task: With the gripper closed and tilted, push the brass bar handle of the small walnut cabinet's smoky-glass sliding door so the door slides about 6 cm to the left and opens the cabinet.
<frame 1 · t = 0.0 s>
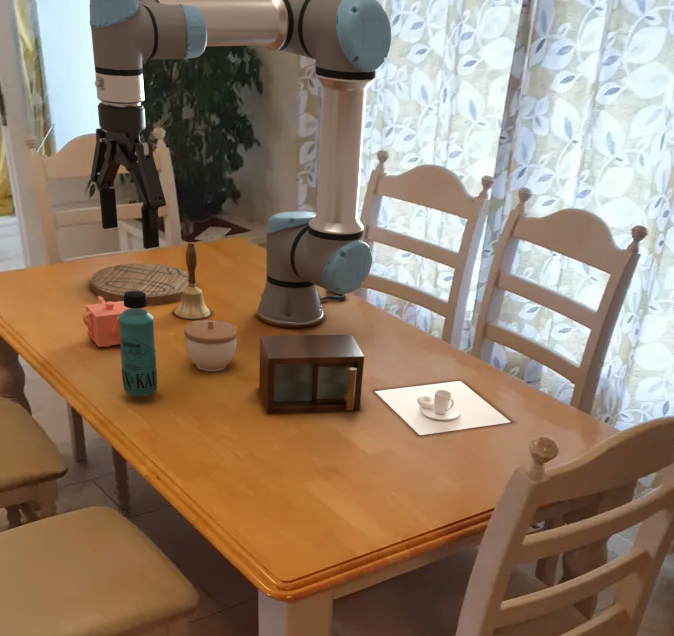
hand: (130, 237, 161), 28 cm above the table, tool pointing down, fingers open, 13 cm apart
teacup and saucer: (441, 407, 179), on the table
trivet: (143, 288, 223), on the table
beverage bottle: (141, 398, 173), on the table
door: (335, 386, 169), point 6 cm above the table, slide at 0.0 cm
trinket box: (211, 366, 188), on the table
cabinet: (308, 400, 177), on the table
hand bell: (192, 314, 211), on the table
teapot: (113, 342, 194), on the table
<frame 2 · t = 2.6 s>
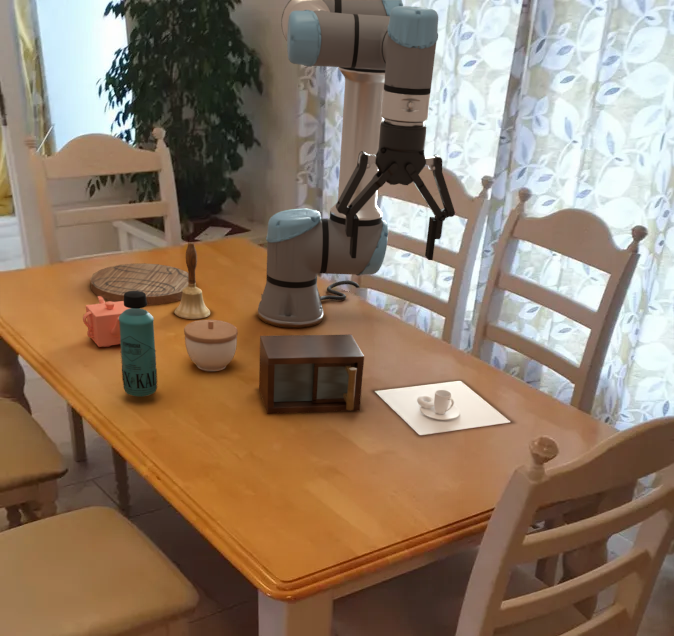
hand: (390, 257, 158), 29 cm above the table, tool pointing down, fingers open, 13 cm apart
nothing on the table moved.
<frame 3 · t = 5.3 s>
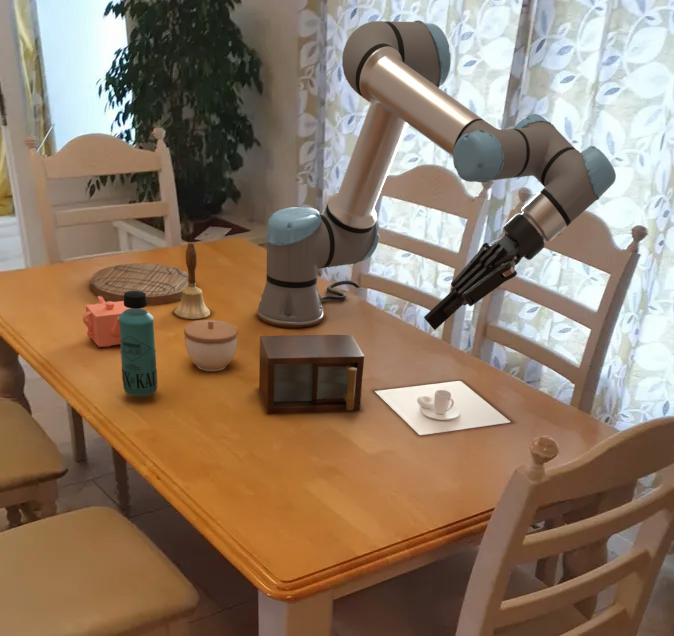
hand: (429, 323, 164), 18 cm above the table, tool tilted 45°, fingers closed
nothing on the table moved.
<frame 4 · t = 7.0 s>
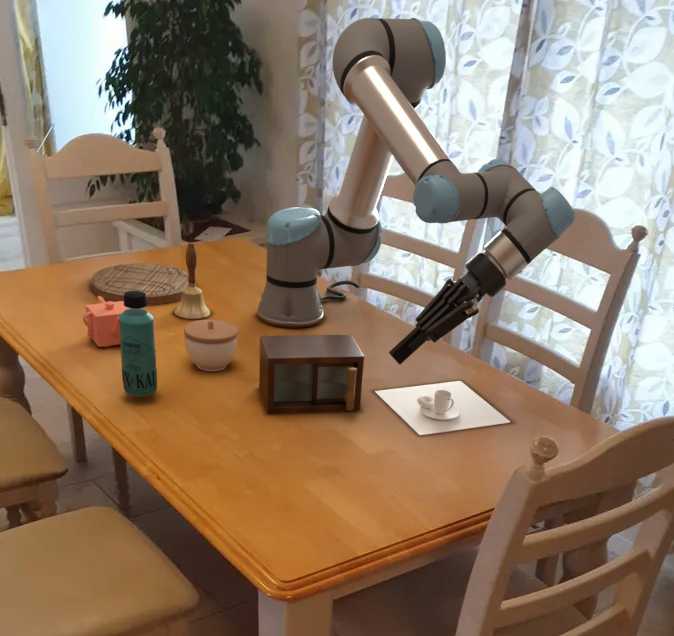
hand: (394, 358, 166), 12 cm above the table, tool tilted 45°, fingers closed
nothing on the table moved.
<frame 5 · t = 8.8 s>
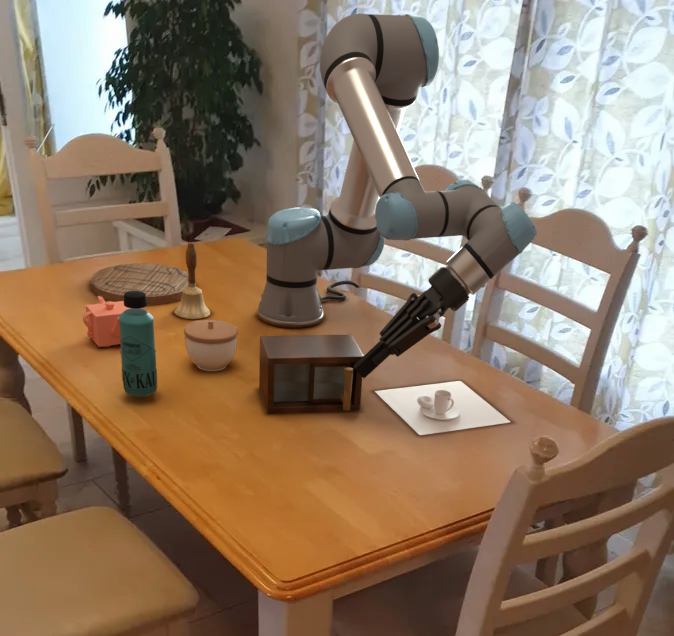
hand: (358, 372, 166), 9 cm above the table, tool tilted 45°, fingers closed
door: (332, 386, 169), point 6 cm above the table, slide at 0.7 cm, touching gripper
everything else where it was.
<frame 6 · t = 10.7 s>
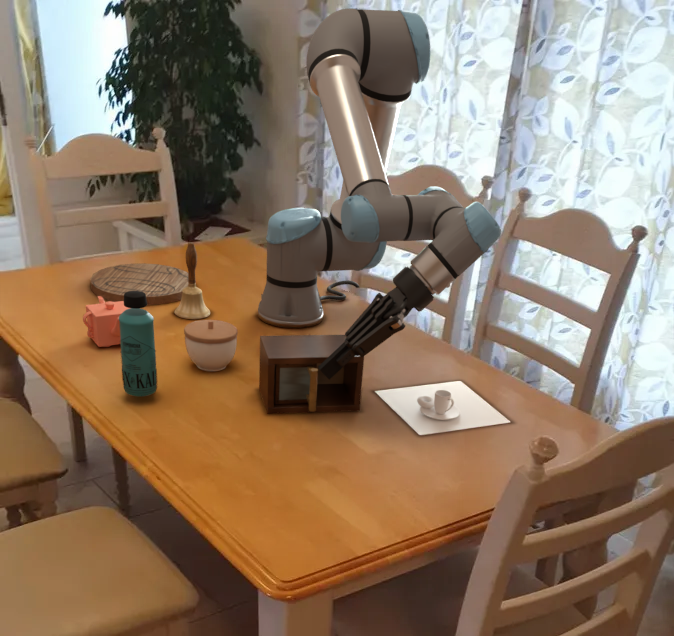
hand: (323, 373, 165), 9 cm above the table, tool tilted 45°, fingers closed
door: (297, 387, 168), point 6 cm above the table, slide at 7.2 cm, touching gripper
everything else where it was.
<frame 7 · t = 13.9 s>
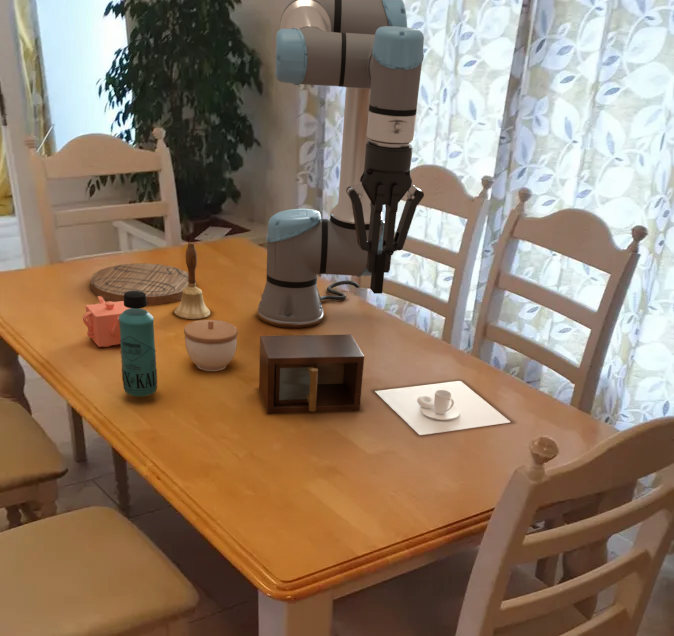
hand: (376, 290, 158), 24 cm above the table, tool pointing down, fingers closed
door: (297, 387, 168), point 6 cm above the table, slide at 7.2 cm
everything else where it was.
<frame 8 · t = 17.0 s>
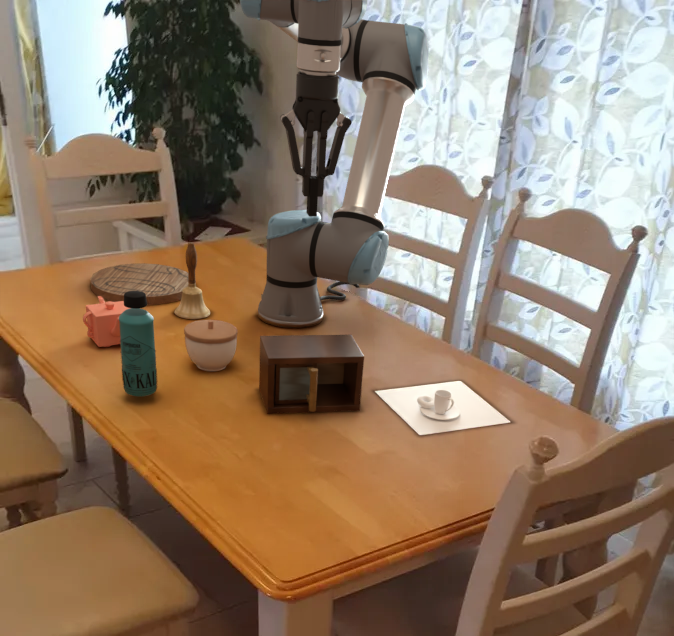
hand: (311, 214, 172), 30 cm above the table, tool pointing down, fingers closed
nothing on the table moved.
at the end: door slide at 7.2 cm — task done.
